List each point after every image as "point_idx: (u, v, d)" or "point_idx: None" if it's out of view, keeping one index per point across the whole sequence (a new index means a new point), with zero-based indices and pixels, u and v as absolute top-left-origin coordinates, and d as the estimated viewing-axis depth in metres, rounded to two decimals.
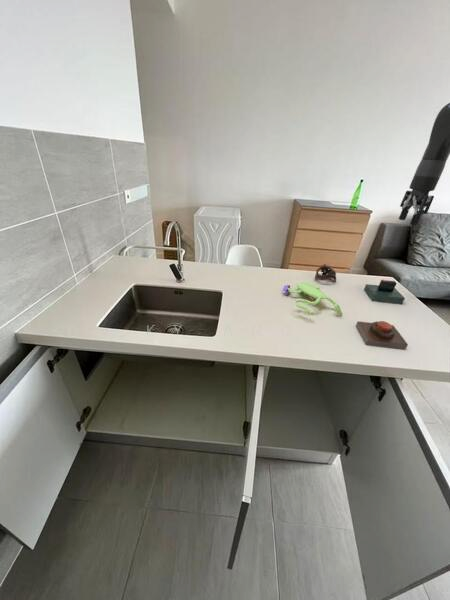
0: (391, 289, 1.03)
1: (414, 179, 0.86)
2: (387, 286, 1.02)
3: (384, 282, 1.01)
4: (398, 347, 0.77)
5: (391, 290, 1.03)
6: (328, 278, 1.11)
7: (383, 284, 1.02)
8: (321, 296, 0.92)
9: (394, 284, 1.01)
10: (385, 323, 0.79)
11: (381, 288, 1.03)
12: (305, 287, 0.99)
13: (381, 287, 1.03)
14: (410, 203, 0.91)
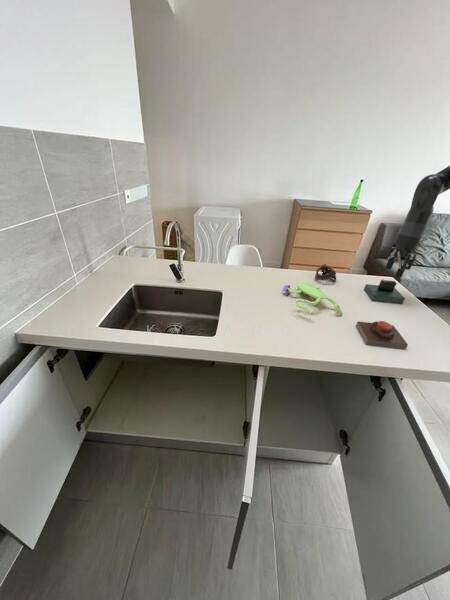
0: (391, 289, 1.03)
1: (398, 237, 0.92)
2: (387, 286, 1.02)
3: (384, 282, 1.01)
4: (398, 347, 0.77)
5: (391, 290, 1.03)
6: (328, 278, 1.11)
7: (383, 284, 1.02)
8: (321, 296, 0.92)
9: (394, 284, 1.01)
10: (385, 323, 0.79)
11: (381, 288, 1.03)
12: (305, 287, 0.99)
13: (381, 287, 1.03)
14: (395, 256, 0.97)
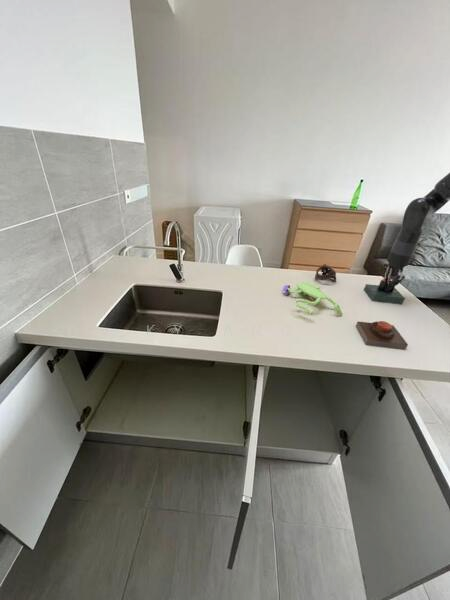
0: (391, 289, 1.03)
1: (390, 255, 0.96)
2: None
3: (384, 282, 1.01)
4: (398, 347, 0.77)
5: (391, 290, 1.03)
6: (328, 278, 1.11)
7: (383, 284, 1.02)
8: (321, 296, 0.92)
9: None
10: (385, 323, 0.79)
11: (381, 288, 1.03)
12: (305, 287, 0.99)
13: (381, 287, 1.03)
14: None
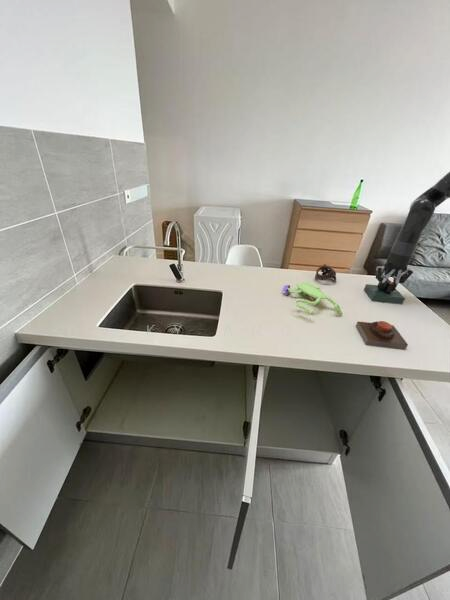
0: None
1: (405, 259, 0.93)
2: None
3: None
4: (398, 347, 0.77)
5: None
6: (328, 278, 1.11)
7: None
8: (321, 296, 0.92)
9: None
10: (385, 323, 0.79)
11: None
12: (305, 287, 0.99)
13: None
14: (393, 274, 0.99)
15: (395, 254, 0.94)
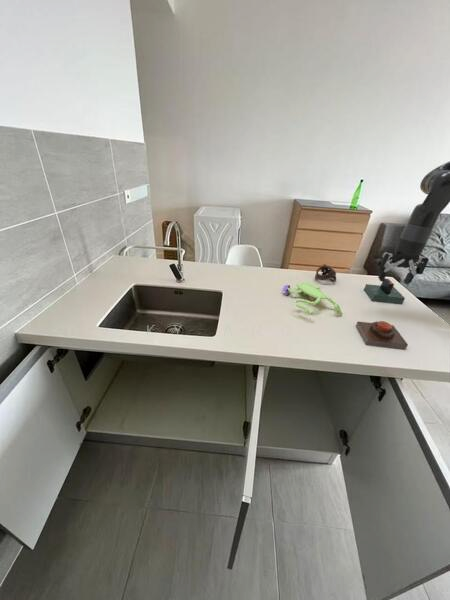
0: None
1: (418, 246, 0.77)
2: None
3: None
4: (398, 347, 0.77)
5: None
6: (328, 278, 1.11)
7: None
8: (321, 296, 0.92)
9: None
10: (385, 323, 0.79)
11: None
12: (305, 287, 0.99)
13: None
14: (399, 266, 0.84)
15: (406, 240, 0.79)
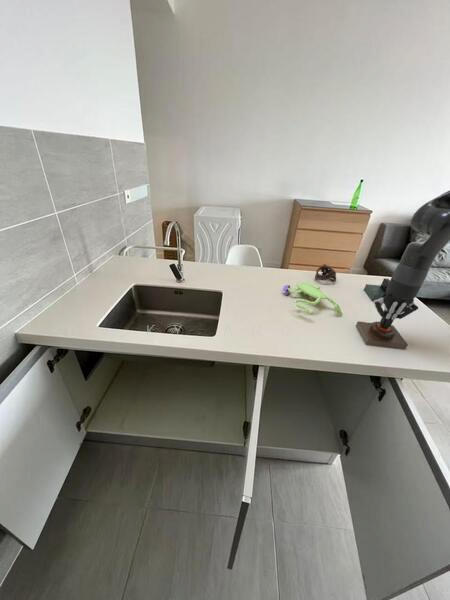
0: None
1: (412, 290, 0.68)
2: None
3: None
4: (398, 347, 0.77)
5: None
6: (328, 278, 1.11)
7: None
8: (321, 296, 0.92)
9: None
10: None
11: None
12: (305, 287, 0.99)
13: None
14: (397, 306, 0.74)
15: (398, 283, 0.69)
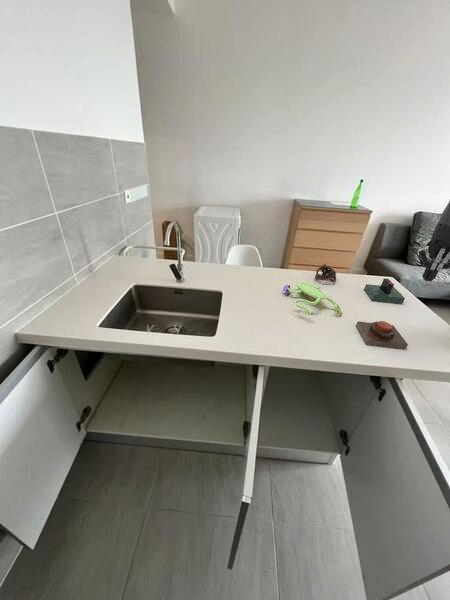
0: None
1: None
2: None
3: None
4: (398, 347, 0.77)
5: None
6: (328, 278, 1.11)
7: None
8: (321, 296, 0.92)
9: None
10: (385, 323, 0.79)
11: None
12: (305, 287, 0.99)
13: None
14: (444, 255, 0.69)
15: (447, 225, 0.64)
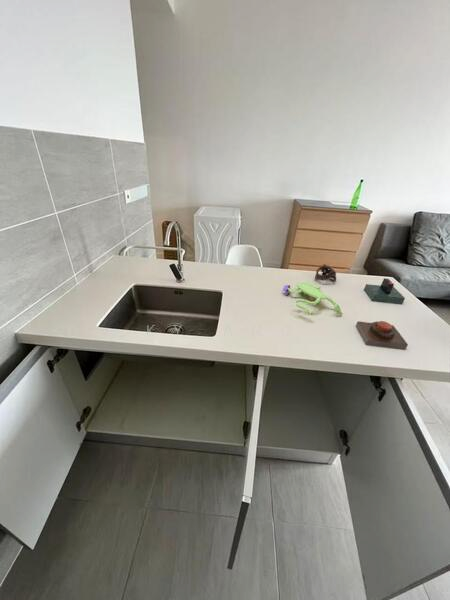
0: None
1: None
2: None
3: None
4: (398, 347, 0.77)
5: None
6: (328, 278, 1.11)
7: None
8: (321, 296, 0.92)
9: None
10: (385, 323, 0.79)
11: None
12: (305, 287, 0.99)
13: None
14: None
15: None
